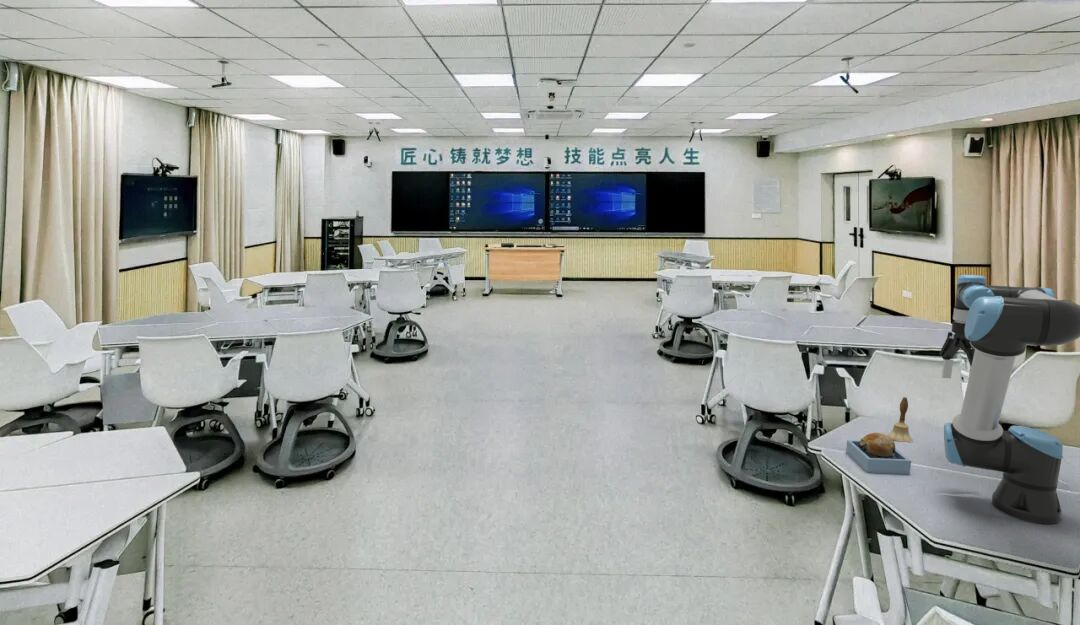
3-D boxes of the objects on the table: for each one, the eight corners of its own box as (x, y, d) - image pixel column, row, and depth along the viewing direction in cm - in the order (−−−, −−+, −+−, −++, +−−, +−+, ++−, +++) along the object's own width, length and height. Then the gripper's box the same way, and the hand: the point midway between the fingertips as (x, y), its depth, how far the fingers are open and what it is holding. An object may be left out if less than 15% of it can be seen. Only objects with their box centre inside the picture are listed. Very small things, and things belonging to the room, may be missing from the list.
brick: (895, 469, 188) (896, 458, 187) (872, 468, 189) (873, 457, 188) (880, 457, 198) (881, 445, 197) (858, 456, 199) (859, 445, 198)
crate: (909, 477, 185) (911, 460, 184) (866, 475, 186) (868, 459, 185) (885, 456, 201) (886, 441, 200) (845, 455, 202) (847, 440, 201)
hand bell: (912, 437, 218) (917, 396, 216) (912, 444, 211) (917, 402, 209) (887, 432, 223) (891, 392, 220) (886, 439, 216) (890, 398, 213)
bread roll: (885, 469, 187) (899, 450, 184) (854, 449, 192) (867, 431, 189) (888, 459, 195) (902, 440, 192) (858, 440, 200) (872, 422, 197)
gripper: (1005, 329, 180) (996, 395, 183) (954, 315, 204) (947, 373, 208) (980, 329, 180) (971, 394, 184) (932, 315, 205) (925, 373, 208)
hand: (958, 383), depth 196 cm, fingers open, 13 cm apart
